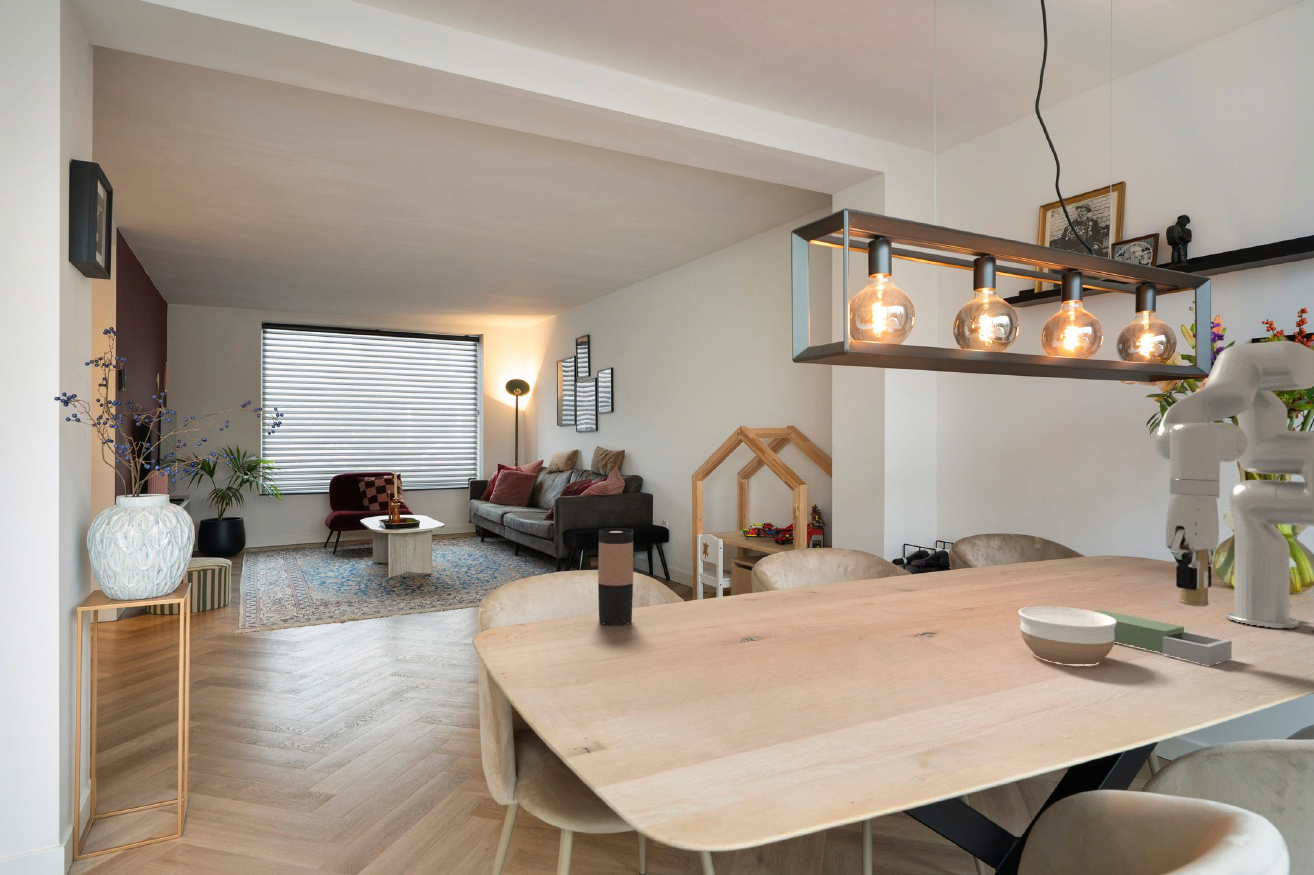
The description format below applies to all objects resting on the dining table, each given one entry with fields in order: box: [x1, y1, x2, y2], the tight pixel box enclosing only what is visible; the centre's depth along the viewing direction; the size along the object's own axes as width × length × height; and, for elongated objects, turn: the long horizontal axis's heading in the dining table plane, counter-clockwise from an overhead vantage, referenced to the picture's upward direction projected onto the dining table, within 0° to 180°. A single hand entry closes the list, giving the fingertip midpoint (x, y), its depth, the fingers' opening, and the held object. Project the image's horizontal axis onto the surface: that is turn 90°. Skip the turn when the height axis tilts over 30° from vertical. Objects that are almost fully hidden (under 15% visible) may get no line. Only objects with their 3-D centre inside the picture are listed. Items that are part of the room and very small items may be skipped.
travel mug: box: [597, 528, 634, 626], centre depth 162 cm, size 8×8×20 cm
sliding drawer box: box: [1092, 609, 1233, 666], centre depth 144 cm, size 8×24×4 cm, turn 30°
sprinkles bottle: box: [1178, 542, 1210, 607], centre depth 138 cm, size 5×5×14 cm
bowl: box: [1017, 605, 1117, 665], centre depth 137 cm, size 16×16×8 cm
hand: (1193, 586), depth 138 cm, fingers closed on sprinkles bottle, 4 cm apart
